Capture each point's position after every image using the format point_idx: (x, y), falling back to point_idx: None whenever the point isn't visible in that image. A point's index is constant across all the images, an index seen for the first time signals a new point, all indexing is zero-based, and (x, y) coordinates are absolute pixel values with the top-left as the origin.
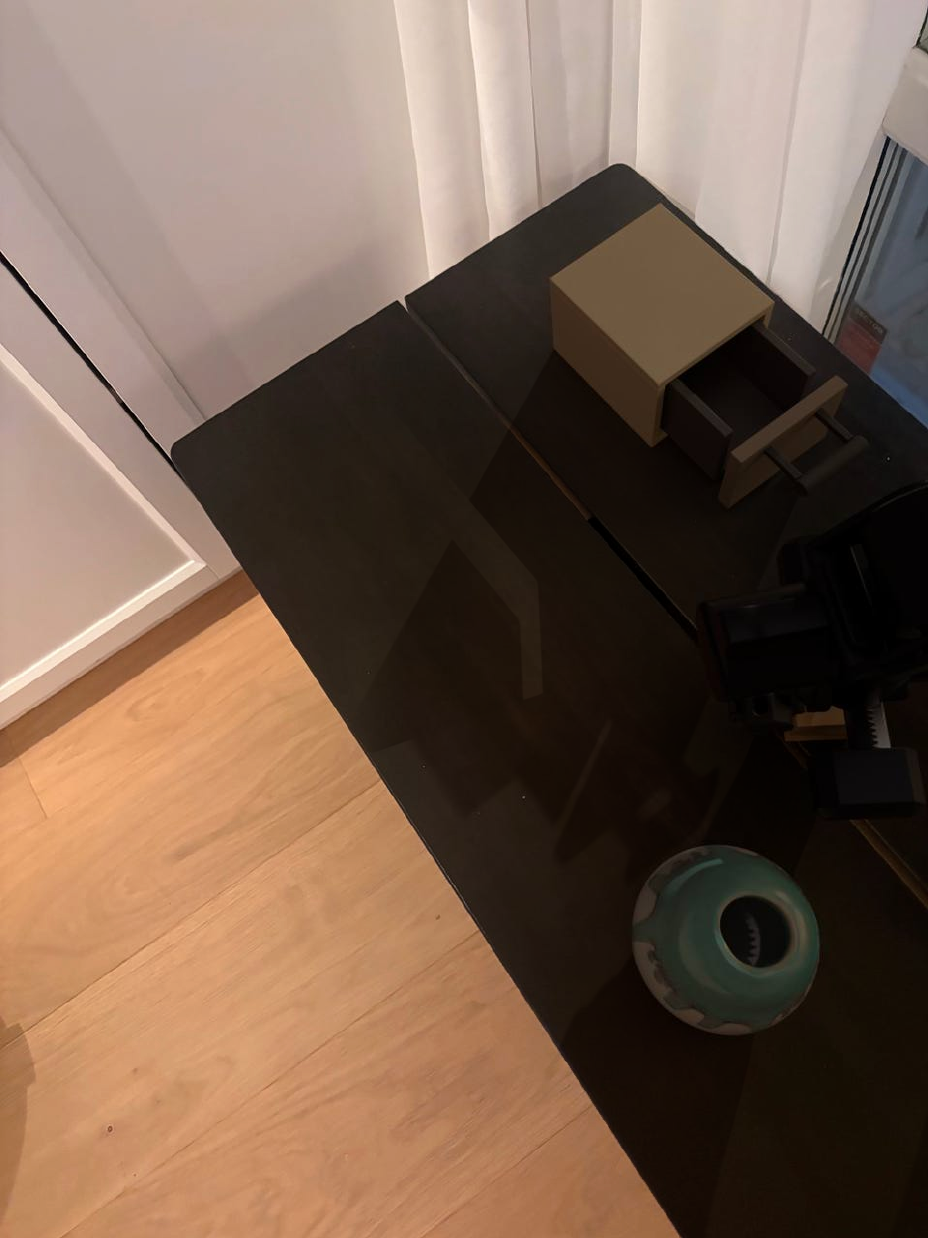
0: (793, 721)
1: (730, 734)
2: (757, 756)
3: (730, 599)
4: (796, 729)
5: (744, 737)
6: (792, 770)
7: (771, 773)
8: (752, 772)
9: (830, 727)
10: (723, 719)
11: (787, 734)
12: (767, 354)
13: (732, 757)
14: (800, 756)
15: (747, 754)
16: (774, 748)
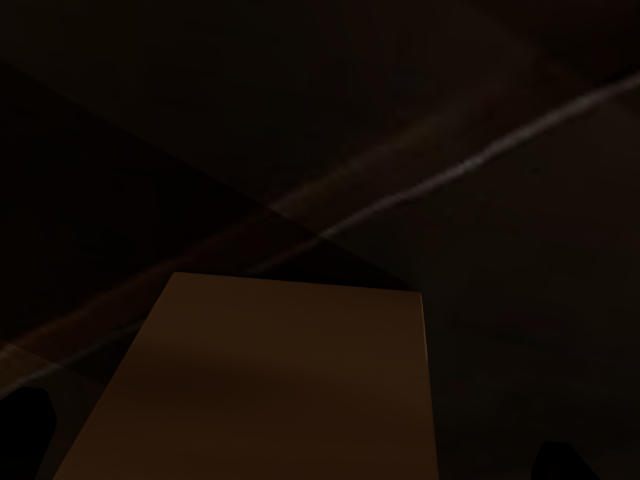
0: (125, 438)
1: (188, 51)
2: (96, 158)
3: None
4: (71, 449)
5: (178, 118)
6: (64, 269)
7: (34, 198)
8: (19, 124)
9: None
10: (269, 26)
11: (165, 310)
12: None
13: (70, 42)
14: (123, 303)
15: (98, 117)
16: (141, 228)
